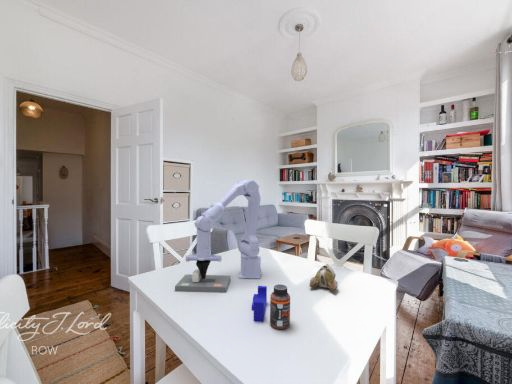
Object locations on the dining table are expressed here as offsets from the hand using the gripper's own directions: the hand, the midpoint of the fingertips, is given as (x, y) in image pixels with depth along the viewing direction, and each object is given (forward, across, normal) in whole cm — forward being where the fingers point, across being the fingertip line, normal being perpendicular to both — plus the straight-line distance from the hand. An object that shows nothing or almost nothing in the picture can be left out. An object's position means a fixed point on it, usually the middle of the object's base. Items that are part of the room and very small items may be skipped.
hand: (203, 278), depth 97 cm
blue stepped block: (+3, +23, -19) cm, 30 cm away
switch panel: (+3, 0, 0) cm, 3 cm away
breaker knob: (+1, -3, 0) cm, 3 cm away
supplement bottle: (+3, +30, -26) cm, 40 cm away
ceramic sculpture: (+3, +50, +2) cm, 50 cm away
